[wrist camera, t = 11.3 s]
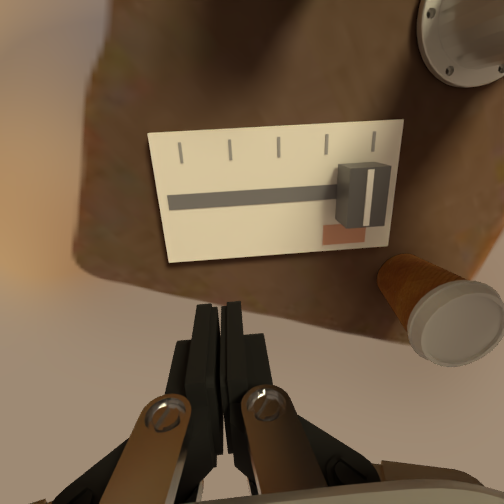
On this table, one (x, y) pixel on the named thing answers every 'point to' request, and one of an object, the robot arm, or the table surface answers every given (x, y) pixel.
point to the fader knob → (362, 194)
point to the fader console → (265, 187)
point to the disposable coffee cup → (442, 310)
